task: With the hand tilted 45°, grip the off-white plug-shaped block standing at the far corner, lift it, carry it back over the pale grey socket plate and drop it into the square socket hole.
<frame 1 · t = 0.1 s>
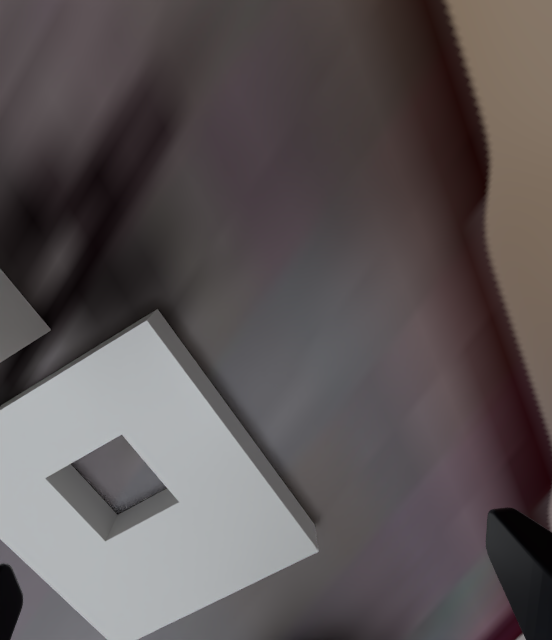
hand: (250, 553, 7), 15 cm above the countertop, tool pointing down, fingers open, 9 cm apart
socket: (125, 466, 24), on the countertop
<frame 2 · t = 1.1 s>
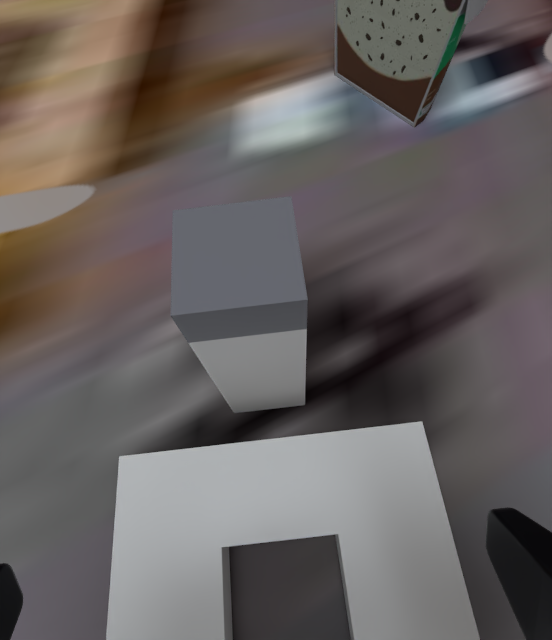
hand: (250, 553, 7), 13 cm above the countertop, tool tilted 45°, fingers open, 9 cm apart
socket: (287, 603, 18), on the countertop
plug: (266, 375, 23), on the countertop
food container: (397, 86, 34), on the countertop
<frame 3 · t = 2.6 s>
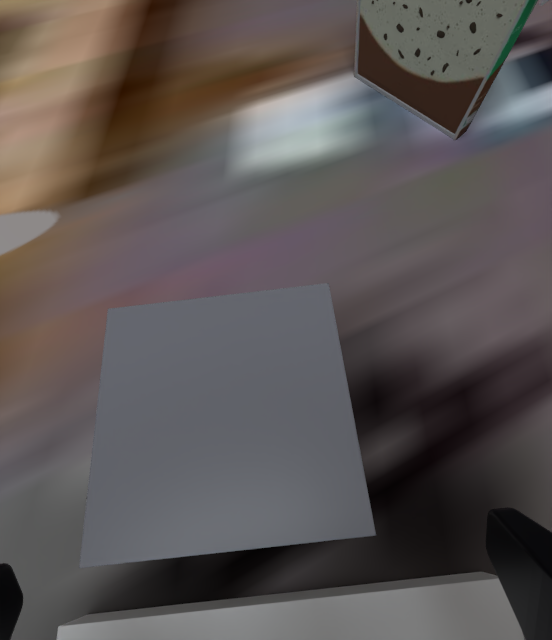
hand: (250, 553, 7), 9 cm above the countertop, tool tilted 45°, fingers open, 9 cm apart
plug: (273, 480, 17), on the countertop
food container: (431, 89, 28), on the countertop
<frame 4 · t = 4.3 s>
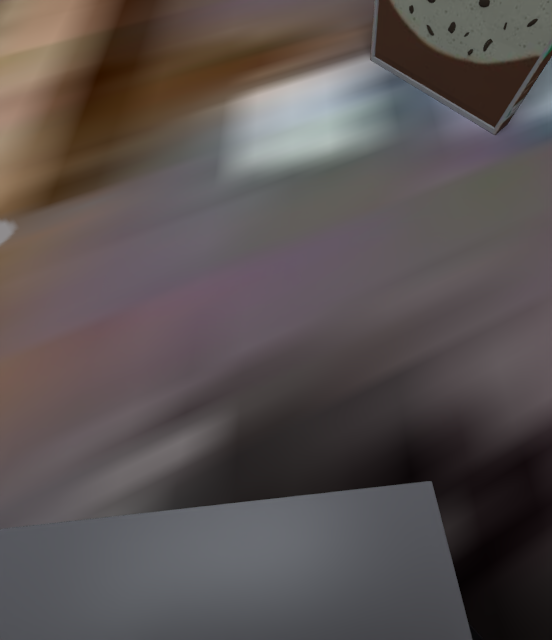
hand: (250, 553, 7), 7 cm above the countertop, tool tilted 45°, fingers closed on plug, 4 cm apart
plug: (277, 588, 13), on the countertop, touching gripper
food container: (462, 75, 24), on the countertop
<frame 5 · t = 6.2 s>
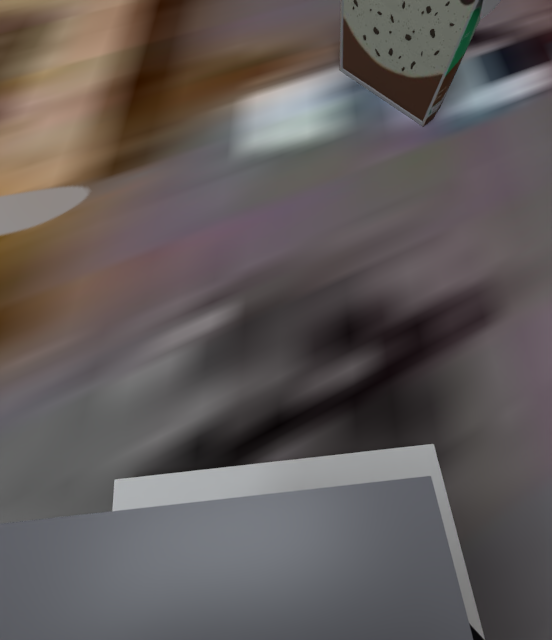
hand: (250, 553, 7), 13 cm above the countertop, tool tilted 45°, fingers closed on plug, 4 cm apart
socket: (291, 635, 17), on the countertop
plug: (277, 587, 13), point 6 cm above the countertop, touching gripper
food container: (405, 82, 33), on the countertop
when the fingers open (8 cm above the countertop, at t = 8.0 s): plug drops 2 cm, resting in socket.
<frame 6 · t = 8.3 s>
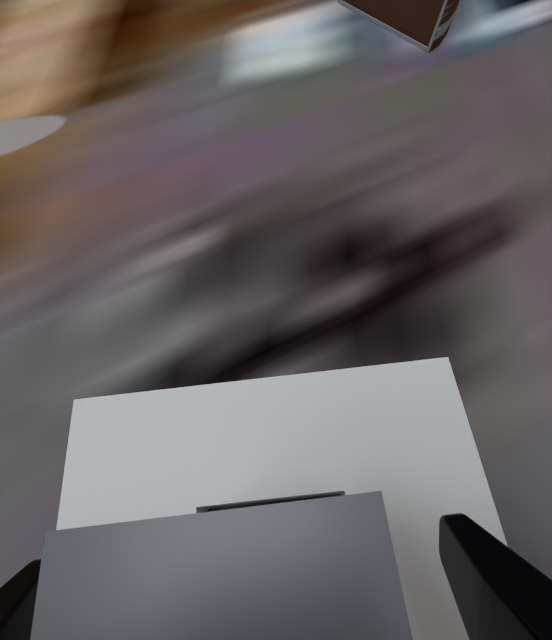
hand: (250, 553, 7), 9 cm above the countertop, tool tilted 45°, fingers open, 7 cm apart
socket: (280, 579, 14), on the countertop
plug: (281, 579, 14), resting in socket
food container: (408, 13, 31), on the countertop
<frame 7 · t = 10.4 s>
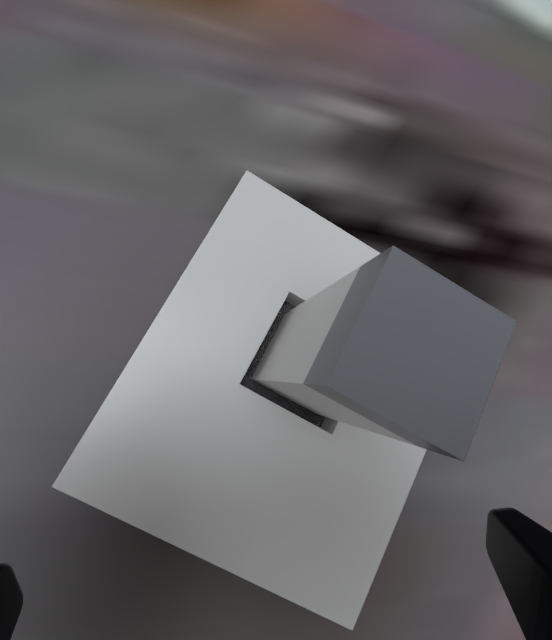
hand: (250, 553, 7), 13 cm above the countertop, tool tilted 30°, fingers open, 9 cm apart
socket: (299, 363, 22), on the countertop
plug: (299, 363, 22), resting in socket
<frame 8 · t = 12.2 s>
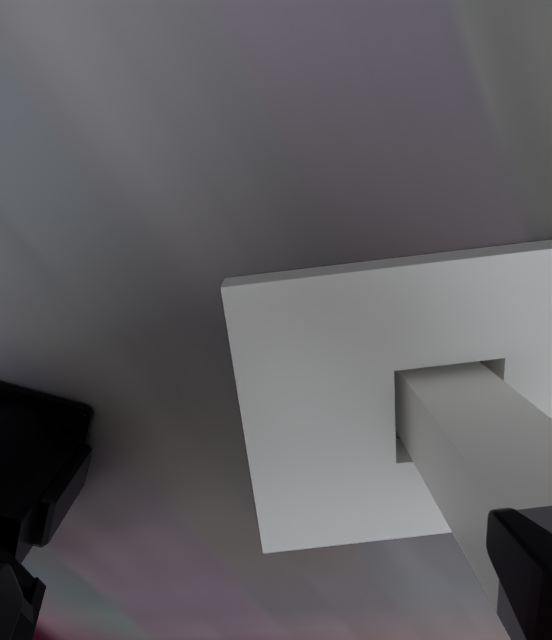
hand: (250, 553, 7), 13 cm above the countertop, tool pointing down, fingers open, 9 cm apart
socket: (431, 393, 21), on the countertop
plug: (431, 393, 21), resting in socket
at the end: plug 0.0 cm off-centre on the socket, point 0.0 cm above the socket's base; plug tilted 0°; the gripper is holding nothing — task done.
